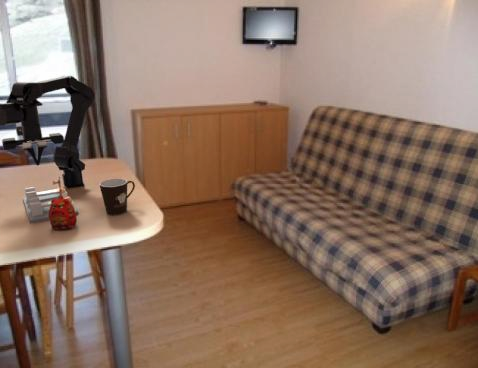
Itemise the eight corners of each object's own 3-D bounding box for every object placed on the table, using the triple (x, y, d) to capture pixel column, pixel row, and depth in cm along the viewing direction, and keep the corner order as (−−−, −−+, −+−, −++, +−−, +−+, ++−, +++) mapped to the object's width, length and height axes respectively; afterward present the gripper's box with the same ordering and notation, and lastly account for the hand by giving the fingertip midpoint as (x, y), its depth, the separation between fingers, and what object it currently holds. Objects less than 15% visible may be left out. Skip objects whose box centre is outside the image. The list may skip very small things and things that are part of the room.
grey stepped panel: (65, 192, 150) (63, 179, 148) (78, 213, 130) (76, 199, 129) (23, 199, 143) (20, 186, 141) (30, 223, 123) (27, 208, 122)
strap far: (64, 190, 145) (63, 187, 145) (65, 192, 142) (65, 189, 142) (31, 195, 140) (30, 192, 139) (32, 198, 137) (31, 195, 136)
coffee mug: (105, 218, 126) (101, 188, 123) (100, 209, 133) (97, 180, 130) (142, 211, 131) (139, 182, 128) (135, 203, 138) (133, 175, 135)
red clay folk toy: (47, 232, 118) (38, 183, 113) (56, 222, 124) (48, 175, 119) (73, 231, 118) (66, 182, 113) (81, 221, 125) (74, 175, 120)
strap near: (70, 199, 135) (69, 196, 135) (72, 202, 132) (71, 199, 132) (35, 206, 130) (34, 203, 130) (36, 209, 127) (35, 206, 127)
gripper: (56, 115, 147) (62, 156, 152) (-3, 120, 138) (6, 164, 143) (61, 119, 138) (67, 163, 143) (-2, 124, 129) (8, 171, 134)
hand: (37, 165), depth 141 cm, fingers closed
